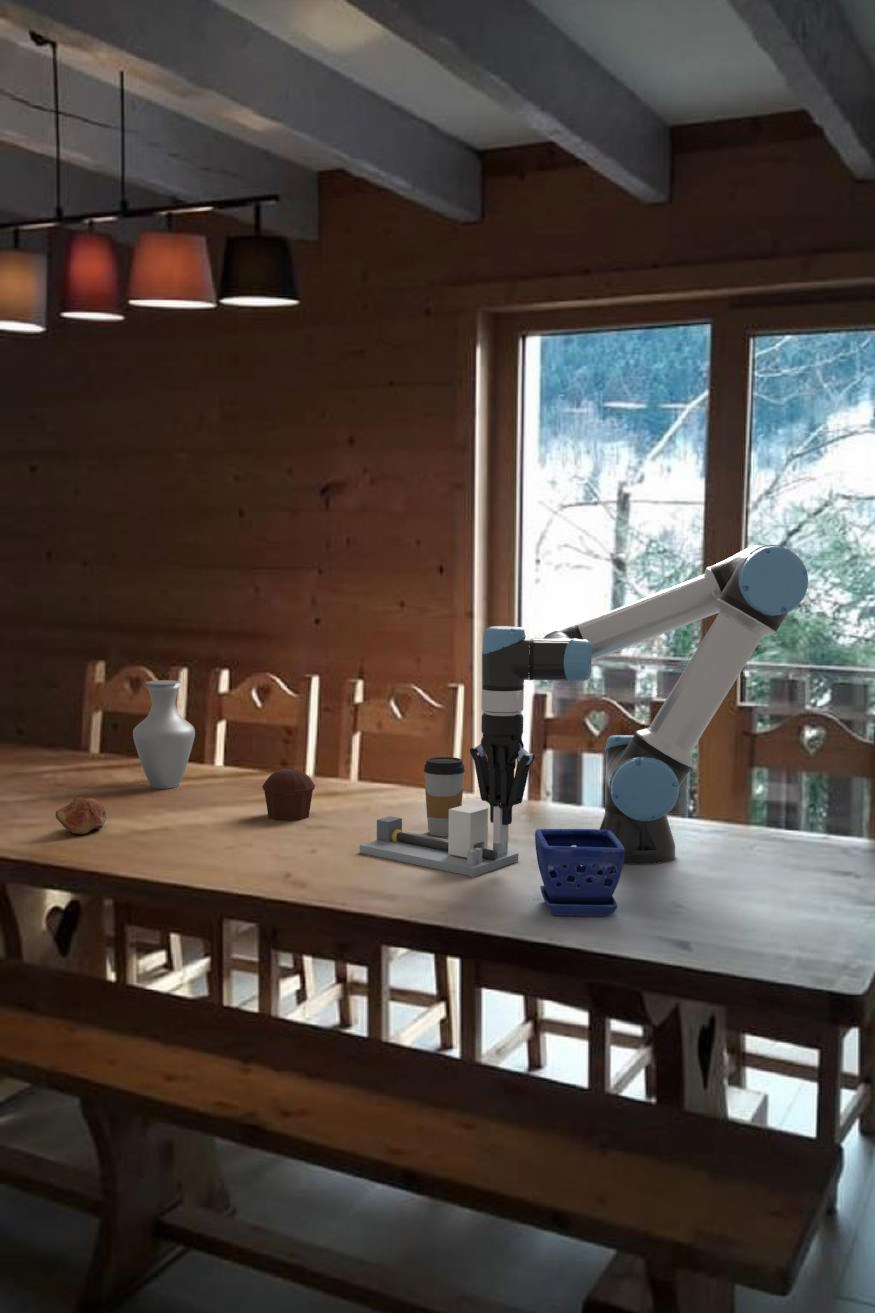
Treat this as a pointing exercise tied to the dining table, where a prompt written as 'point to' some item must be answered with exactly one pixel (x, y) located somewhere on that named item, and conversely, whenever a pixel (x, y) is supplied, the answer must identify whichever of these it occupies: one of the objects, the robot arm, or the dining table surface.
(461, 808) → the cream rail slider block
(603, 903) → the flower pot
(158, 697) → the vase
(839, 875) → the dining table surface
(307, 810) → the muffin
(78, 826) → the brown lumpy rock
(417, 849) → the sliding block rail
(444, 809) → the coffee cup
